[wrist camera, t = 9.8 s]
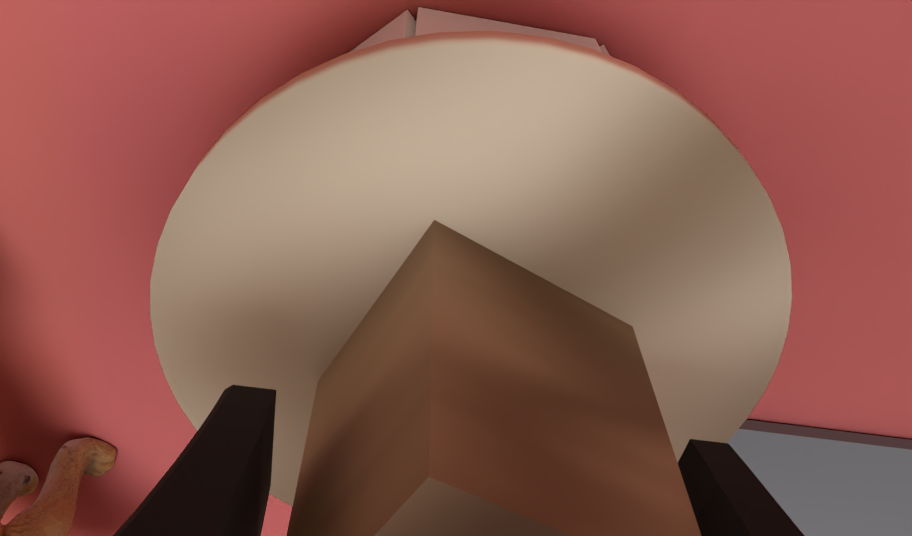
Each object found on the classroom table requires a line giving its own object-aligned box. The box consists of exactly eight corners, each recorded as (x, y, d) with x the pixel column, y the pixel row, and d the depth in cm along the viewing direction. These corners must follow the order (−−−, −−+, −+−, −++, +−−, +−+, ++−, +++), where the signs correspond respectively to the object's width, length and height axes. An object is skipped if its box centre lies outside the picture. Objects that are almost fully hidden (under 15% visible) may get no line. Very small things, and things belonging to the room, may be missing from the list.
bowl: (727, 62, 15) (808, 149, 12) (600, 387, 20) (630, 512, 17) (272, -20, 14) (219, 51, 11) (258, 345, 19) (219, 469, 16)
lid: (915, 253, 13) (1181, 535, 8) (536, 576, 18) (567, 861, 13) (343, -139, 9) (243, -32, 5) (78, 402, 14) (-92, 704, 10)
